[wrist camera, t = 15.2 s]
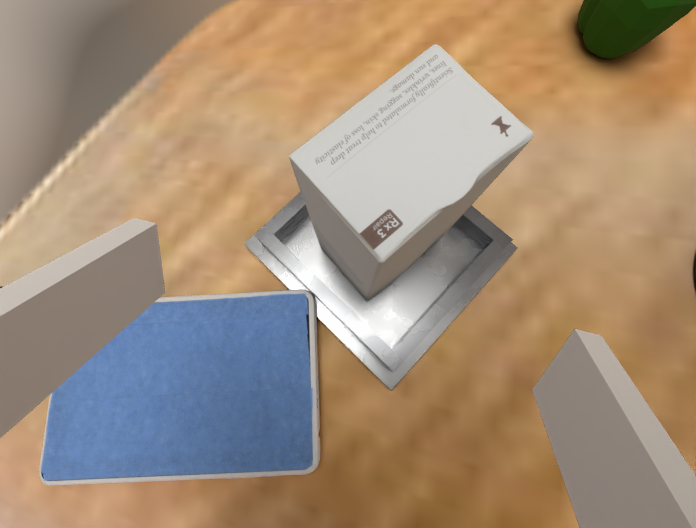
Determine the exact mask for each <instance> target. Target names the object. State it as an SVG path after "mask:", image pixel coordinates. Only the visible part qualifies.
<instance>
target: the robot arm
mask: <svg viewBox="0 0 696 528" xmlns="http://www.w3.org/2000/svg"><path fill="white" fill-rule="evenodd" d="M695 279H696V263H695ZM164 293H165V286H164V279H163V271H162V263H161V255H160V247H159V239H158V231H157V223H153V222H149V221H145V220H141V219H137V218H133V219H131V220H129V221H127V222H125V223H123V224H122V225H120V226H118V227H116V228H114V229H112V230H110V231H108V232H106V233H104V234H103V235H101V236H99V237H97V238H95V239H93V240H91V241H89V242H87V243H85V244H84V245H82V246H80V247H78V248H76V249H74V250H72V251H70V252H68V253H67V254H65V255H63V256H61V257H59V258H57V259H55V260H53V261H51V262H49V263H48V264H46V265H44V266H42V267H40V268H38V269H36V270H34V271H32V272H30V273H29V274H27V275H25V276H23V277H21V278H19V279H17V280H15V281H13V282H12V283H10V284H8V285H6V286H4V287H2V286H1V287H0V438H1V437H2V436H4V435H5V434H6V433H7V432H8V431H9V430H10V429H11V428H13V427H14V426H15V425H16V424H17V423H18V422H19V421H20V420H22V419H23V418H24V417H25V416H26V415H27V414H28V413H30V412H31V411H32V410H33V409H34V408H35V407H36V406H37V405H39V404H40V403H41V402H42V401H43V400H44V399H45V398H47V397H48V396H49V395H50V394H51V393H52V392H53V391H54V390H56V389H57V388H58V387H59V386H60V385H61V384H62V383H63V382H65V381H66V380H67V379H68V378H69V377H70V376H71V375H73V374H74V373H75V372H76V371H77V370H78V369H79V368H80V367H82V366H83V365H84V364H85V363H86V362H87V361H88V360H90V359H91V358H92V357H93V356H94V355H95V354H96V353H97V352H99V351H100V350H101V349H102V348H103V347H104V346H105V345H106V344H108V343H109V342H110V341H111V340H112V339H113V338H114V337H116V336H117V335H118V334H119V333H120V332H121V331H122V330H123V329H125V328H126V327H127V326H128V325H129V324H130V323H131V322H132V321H134V320H135V319H136V318H137V317H138V316H139V315H140V314H142V313H143V312H144V311H145V310H146V309H147V308H148V307H149V306H151V305H152V304H153V303H154V302H155V301H156V300H157V299H159V298H160V297H161V296H162V295H163V294H164ZM532 391H533V394H534V397H535V399H536V402H537V405H538V408H539V411H540V414H541V417H542V420H543V423H544V426H545V428H546V431H547V434H548V437H549V440H550V443H551V446H552V449H553V452H554V455H555V457H556V460H557V463H558V466H559V469H560V472H561V475H562V478H563V481H564V483H565V486H566V489H567V492H568V495H569V498H570V501H571V504H572V507H573V510H574V512H575V515H576V518H577V521H578V524H579V527H580V528H696V475H695V474H694V472H693V471H692V469H691V468H690V466H689V465H688V463H687V462H686V460H685V459H684V457H683V456H682V454H681V453H680V451H679V450H678V448H677V447H676V445H675V444H674V442H673V441H672V440H671V438H670V437H669V435H668V434H667V432H666V431H665V429H664V428H663V426H662V425H661V423H660V422H659V420H658V419H657V417H656V416H655V414H654V413H653V411H652V410H651V408H650V407H649V405H648V404H647V402H646V401H645V399H644V398H643V396H642V395H641V393H640V392H639V390H638V389H637V388H636V386H635V385H634V383H633V382H632V380H631V379H630V377H629V376H628V374H627V373H626V371H625V370H624V368H623V367H622V365H621V364H620V362H619V361H618V359H617V358H616V356H615V355H614V353H613V352H612V350H611V349H610V347H609V346H608V344H607V343H606V341H605V340H604V339H603V337H602V336H601V335H598V334H594V333H590V332H586V331H582V330H578V329H574V331H573V332H572V333H571V335H570V336H569V338H568V339H567V341H566V342H565V343H564V345H563V346H562V348H561V349H560V351H559V352H558V353H557V355H556V356H555V358H554V359H553V361H552V362H551V364H550V365H549V366H548V368H547V369H546V371H545V372H544V374H543V375H542V376H541V378H540V379H539V381H538V382H537V384H536V385H535V386H534V388H533V389H532Z"/></svg>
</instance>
